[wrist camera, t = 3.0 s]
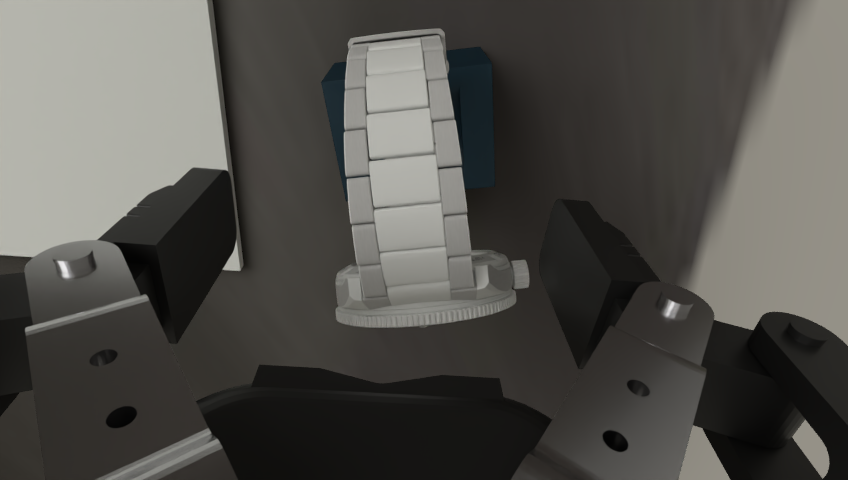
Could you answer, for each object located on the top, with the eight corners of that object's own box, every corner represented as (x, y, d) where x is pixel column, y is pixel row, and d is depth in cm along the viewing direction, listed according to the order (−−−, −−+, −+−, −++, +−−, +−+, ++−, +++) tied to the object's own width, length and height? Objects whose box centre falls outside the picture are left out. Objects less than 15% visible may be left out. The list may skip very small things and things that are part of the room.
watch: (362, 209, 21) (323, 413, 12) (324, 11, 17) (218, 84, 8) (487, 196, 21) (549, 393, 12) (480, -7, 17) (567, 45, 7)
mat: (-374, -343, 12) (-401, -353, 12) (181, -264, 13) (174, -271, 13) (-71, 243, 22) (-81, 249, 21) (243, 264, 23) (240, 270, 22)
